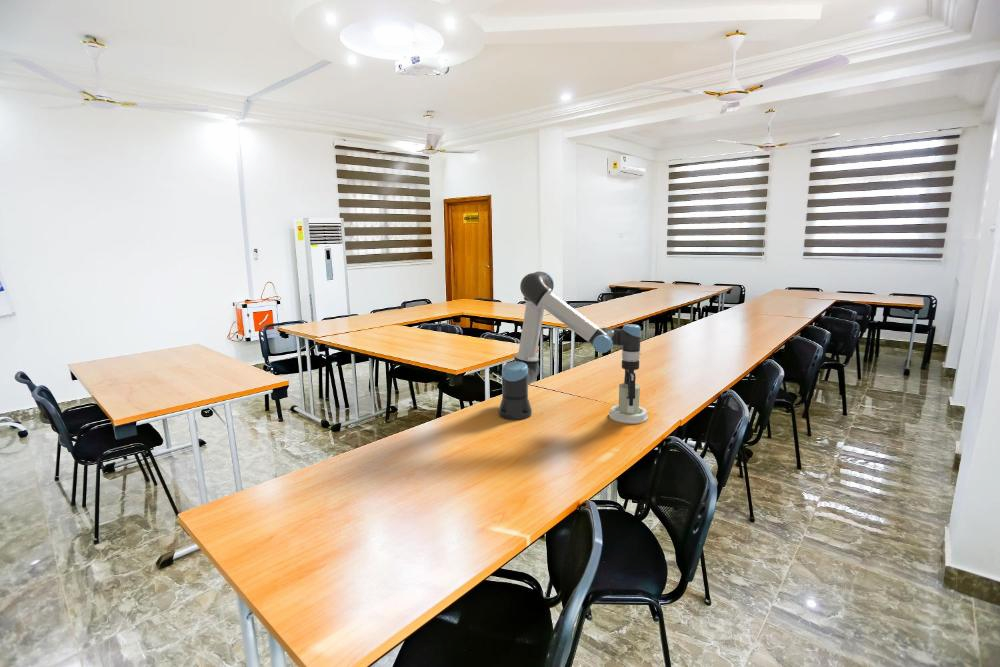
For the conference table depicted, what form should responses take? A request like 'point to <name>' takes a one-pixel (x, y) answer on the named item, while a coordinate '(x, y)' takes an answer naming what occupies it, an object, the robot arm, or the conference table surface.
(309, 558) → the conference table surface
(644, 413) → the tray
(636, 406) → the can
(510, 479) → the conference table surface
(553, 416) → the conference table surface
